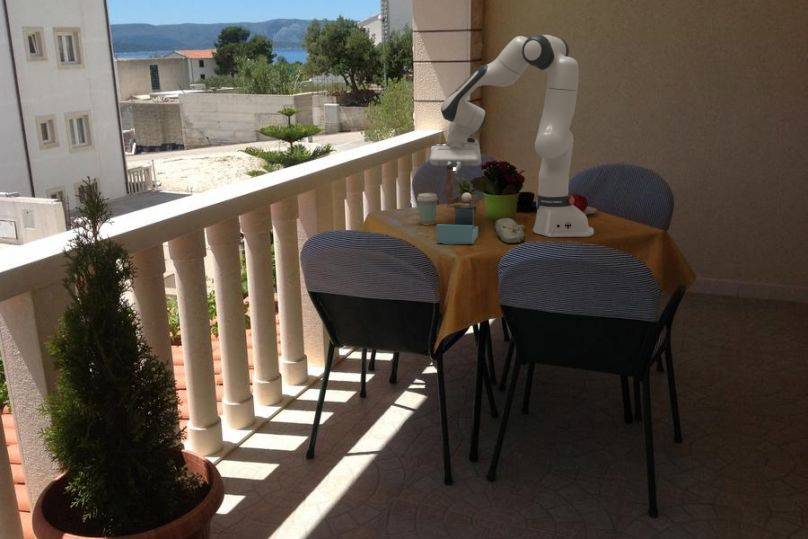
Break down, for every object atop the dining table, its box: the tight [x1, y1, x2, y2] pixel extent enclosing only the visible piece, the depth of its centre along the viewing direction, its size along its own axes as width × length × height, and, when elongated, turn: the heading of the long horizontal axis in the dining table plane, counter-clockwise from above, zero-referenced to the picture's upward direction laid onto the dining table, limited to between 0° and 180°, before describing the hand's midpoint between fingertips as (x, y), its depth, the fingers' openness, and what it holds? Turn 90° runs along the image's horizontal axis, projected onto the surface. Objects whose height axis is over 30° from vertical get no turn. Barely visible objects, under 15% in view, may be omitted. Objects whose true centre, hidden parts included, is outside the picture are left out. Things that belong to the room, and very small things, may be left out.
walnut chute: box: [445, 164, 480, 211], centre depth 277 cm, size 12×20×18 cm, turn 166°
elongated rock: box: [494, 217, 525, 244], centre depth 276 cm, size 35×5×10 cm
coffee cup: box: [416, 192, 439, 225], centre depth 295 cm, size 8×8×12 cm
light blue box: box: [435, 223, 479, 245], centre depth 267 cm, size 13×13×7 cm
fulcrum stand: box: [454, 208, 475, 226], centre depth 280 cm, size 10×6×9 cm, turn 76°
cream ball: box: [462, 192, 472, 203], centre depth 284 cm, size 4×4×4 cm
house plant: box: [453, 176, 477, 195], centre depth 316 cm, size 14×14×16 cm
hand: (453, 172), depth 285 cm, fingers closed
